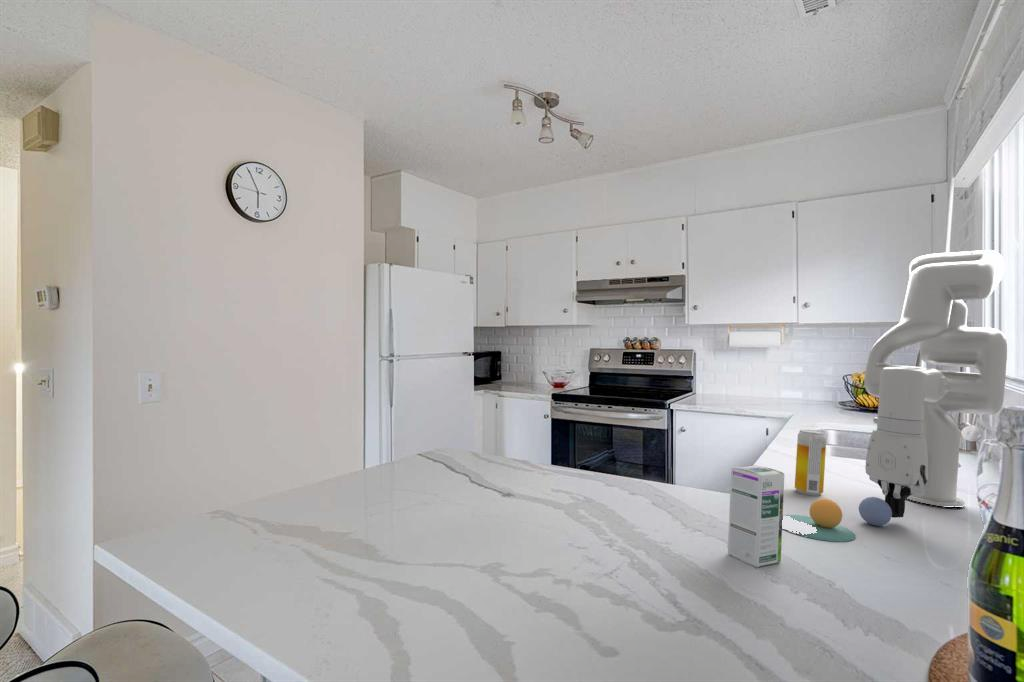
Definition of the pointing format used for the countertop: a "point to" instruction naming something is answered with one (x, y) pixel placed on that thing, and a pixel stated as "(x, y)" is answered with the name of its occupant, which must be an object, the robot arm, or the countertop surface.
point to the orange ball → (825, 513)
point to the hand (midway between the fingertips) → (894, 515)
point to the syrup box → (756, 515)
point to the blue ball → (875, 511)
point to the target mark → (826, 531)
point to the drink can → (810, 462)
